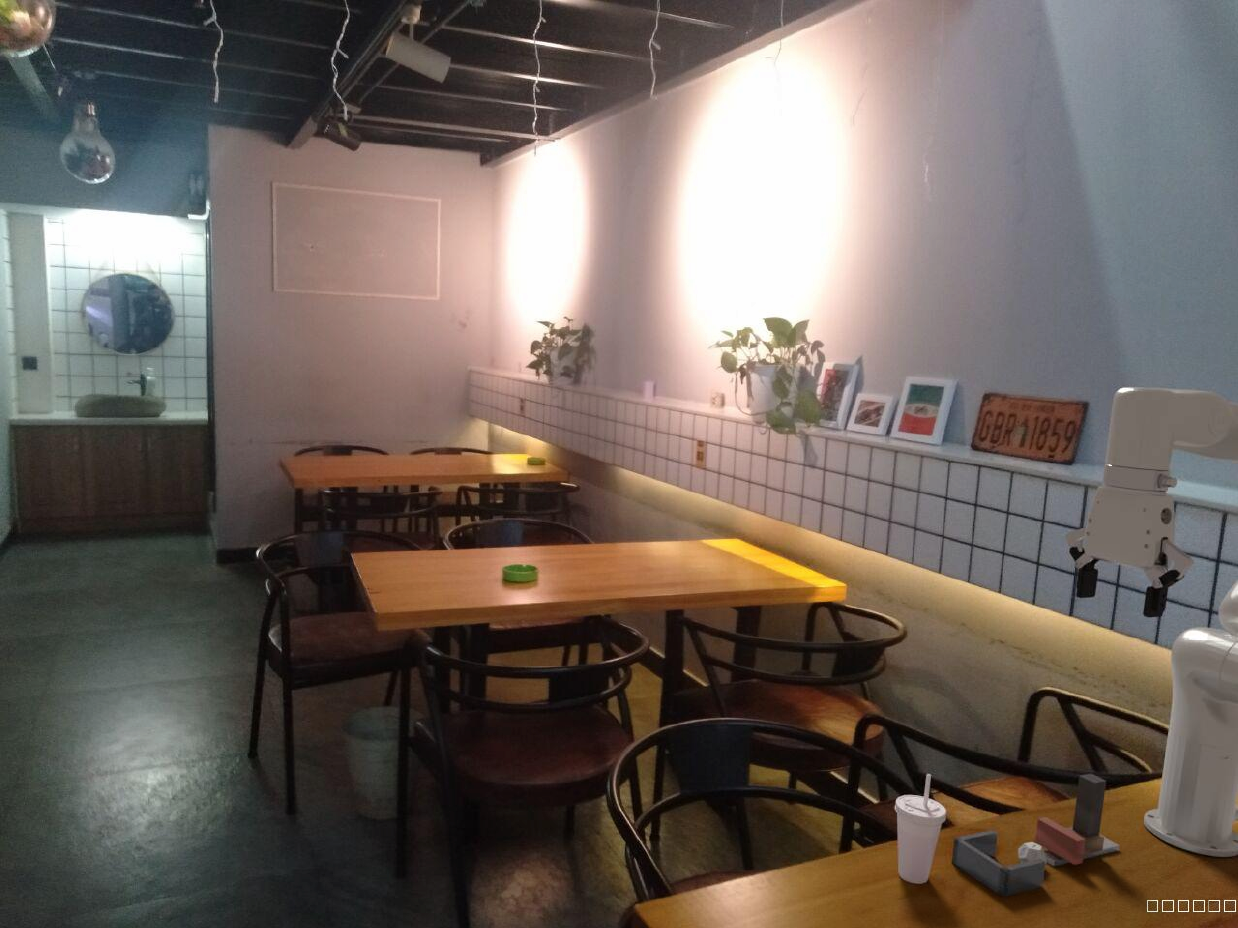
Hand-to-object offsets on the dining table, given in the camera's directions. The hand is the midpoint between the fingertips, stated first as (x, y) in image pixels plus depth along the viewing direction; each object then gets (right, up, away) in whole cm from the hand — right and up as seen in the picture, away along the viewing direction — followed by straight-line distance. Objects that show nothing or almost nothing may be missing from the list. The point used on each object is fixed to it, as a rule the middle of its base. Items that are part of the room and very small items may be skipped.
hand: (1117, 606), depth 123 cm
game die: (-11, -36, +2) cm, 38 cm away
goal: (-16, -36, -1) cm, 39 cm away
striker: (-3, -35, +6) cm, 36 cm away
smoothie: (-28, -35, -3) cm, 45 cm away
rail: (-2, -36, +6) cm, 37 cm away
